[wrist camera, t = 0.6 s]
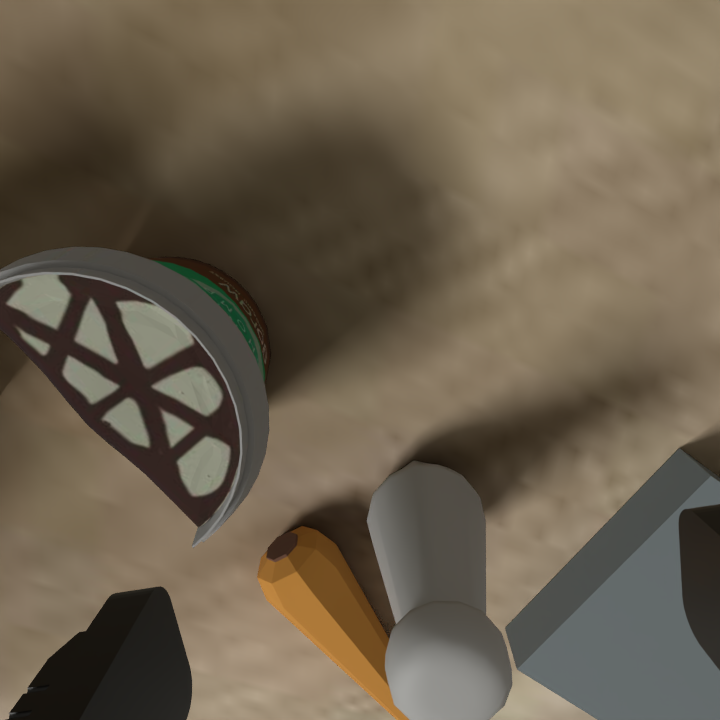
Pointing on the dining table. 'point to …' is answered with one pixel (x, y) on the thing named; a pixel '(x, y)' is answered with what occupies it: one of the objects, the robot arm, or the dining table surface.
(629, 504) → the base plinth
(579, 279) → the dining table surface
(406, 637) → the salt shaker
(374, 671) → the carrot
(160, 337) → the food container
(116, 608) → the robot arm
